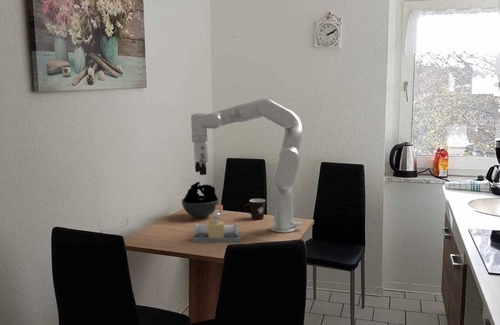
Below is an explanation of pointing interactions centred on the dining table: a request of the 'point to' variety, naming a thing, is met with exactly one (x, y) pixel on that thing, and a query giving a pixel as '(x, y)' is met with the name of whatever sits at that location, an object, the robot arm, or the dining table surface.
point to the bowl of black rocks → (200, 201)
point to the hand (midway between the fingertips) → (200, 173)
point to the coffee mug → (256, 208)
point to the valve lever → (217, 211)
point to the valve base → (205, 239)
